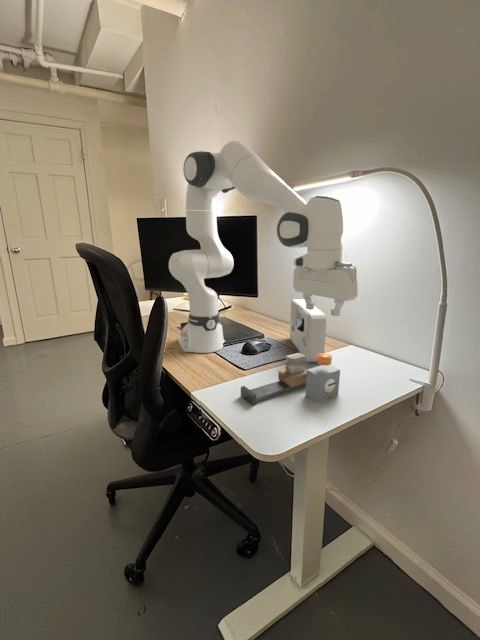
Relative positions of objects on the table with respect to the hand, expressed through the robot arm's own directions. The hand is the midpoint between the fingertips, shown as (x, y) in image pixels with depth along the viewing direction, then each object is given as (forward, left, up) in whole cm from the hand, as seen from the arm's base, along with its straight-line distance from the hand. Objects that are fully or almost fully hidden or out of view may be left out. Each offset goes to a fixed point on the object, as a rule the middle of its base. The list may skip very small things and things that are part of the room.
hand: (322, 312), depth 89 cm
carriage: (-8, -2, -23) cm, 24 cm away
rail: (-8, -8, -25) cm, 27 cm away
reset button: (+1, 0, -15) cm, 15 cm away
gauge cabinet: (+1, 0, -25) cm, 25 cm away
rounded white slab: (-29, +21, -25) cm, 44 cm away
